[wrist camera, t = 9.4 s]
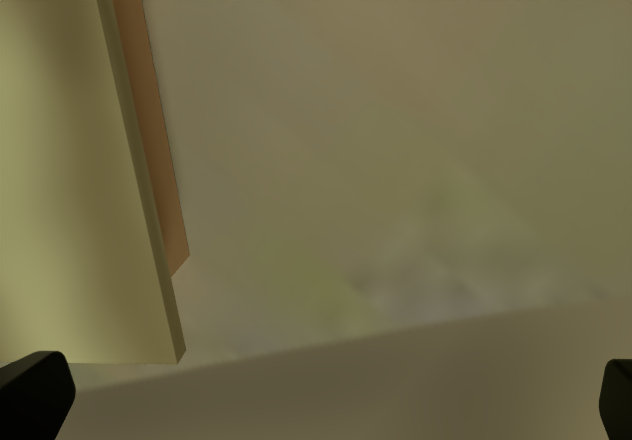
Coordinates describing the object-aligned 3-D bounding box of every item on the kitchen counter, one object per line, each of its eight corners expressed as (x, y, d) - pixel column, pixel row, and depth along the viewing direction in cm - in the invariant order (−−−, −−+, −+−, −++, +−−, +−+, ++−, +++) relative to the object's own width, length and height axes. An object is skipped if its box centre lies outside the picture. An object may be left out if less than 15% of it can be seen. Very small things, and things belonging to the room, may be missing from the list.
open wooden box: (139, -14, 17) (51, -32, 12) (189, 255, 21) (137, 317, 16) (-119, 12, 18) (-283, 3, 14) (-26, 258, 22) (-129, 315, 18)
